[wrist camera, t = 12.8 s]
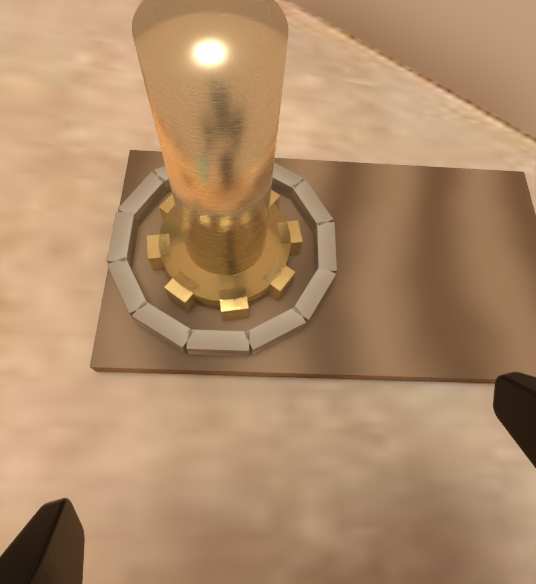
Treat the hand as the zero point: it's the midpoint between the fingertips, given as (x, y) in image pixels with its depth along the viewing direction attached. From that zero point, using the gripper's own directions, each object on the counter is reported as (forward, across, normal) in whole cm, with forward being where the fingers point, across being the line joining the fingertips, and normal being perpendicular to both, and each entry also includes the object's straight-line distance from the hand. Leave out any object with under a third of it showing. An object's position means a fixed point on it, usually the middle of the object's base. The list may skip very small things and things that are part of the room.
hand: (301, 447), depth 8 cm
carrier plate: (+16, -7, +3) cm, 18 cm away
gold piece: (+17, -1, +1) cm, 17 cm away
